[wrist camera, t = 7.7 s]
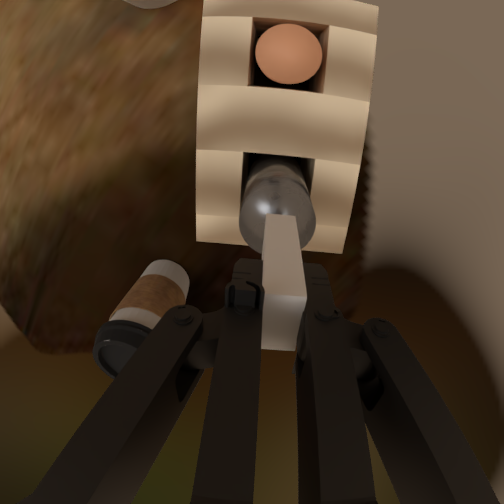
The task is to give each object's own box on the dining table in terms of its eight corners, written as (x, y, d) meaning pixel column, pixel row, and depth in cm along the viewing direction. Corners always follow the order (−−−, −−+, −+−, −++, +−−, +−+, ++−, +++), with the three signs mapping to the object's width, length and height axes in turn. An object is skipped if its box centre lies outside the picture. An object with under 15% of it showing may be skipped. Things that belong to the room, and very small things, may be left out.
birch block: (223, 12, 23) (205, -13, 15) (349, 25, 23) (378, 6, 15) (214, 200, 33) (196, 241, 26) (325, 210, 33) (341, 253, 26)
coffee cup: (197, 309, 42) (171, 403, 29) (138, 297, 41) (96, 383, 28) (202, 256, 37) (169, 352, 24) (135, 244, 37) (79, 329, 24)
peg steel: (250, 149, 25) (240, 183, 17) (305, 154, 24) (321, 191, 17) (247, 199, 27) (237, 253, 19) (298, 203, 27) (309, 259, 19)
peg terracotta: (261, 38, 24) (257, 21, 16) (309, 43, 24) (324, 28, 16) (258, 81, 26) (253, 81, 19) (305, 86, 26) (319, 87, 19)
